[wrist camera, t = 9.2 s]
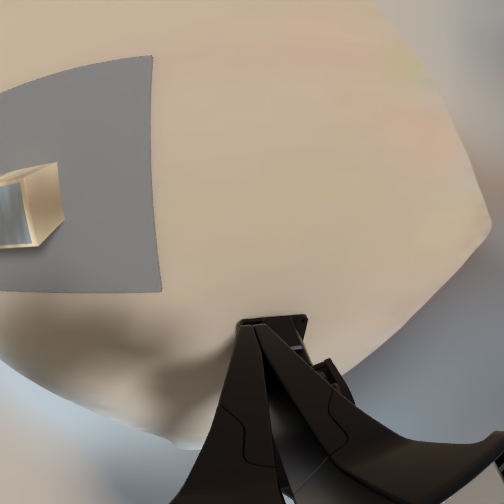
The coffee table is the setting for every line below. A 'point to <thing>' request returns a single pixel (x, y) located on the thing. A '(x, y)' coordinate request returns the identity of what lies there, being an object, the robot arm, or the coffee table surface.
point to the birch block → (29, 205)
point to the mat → (86, 178)
